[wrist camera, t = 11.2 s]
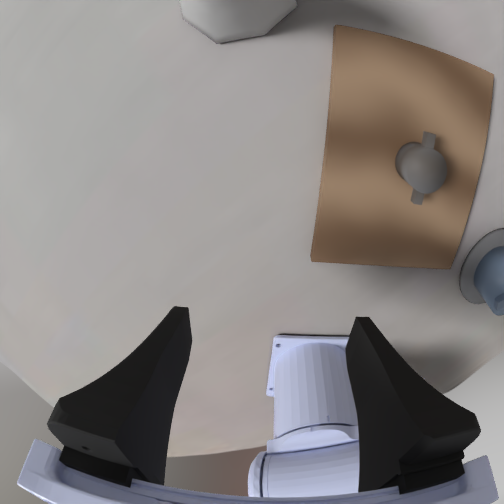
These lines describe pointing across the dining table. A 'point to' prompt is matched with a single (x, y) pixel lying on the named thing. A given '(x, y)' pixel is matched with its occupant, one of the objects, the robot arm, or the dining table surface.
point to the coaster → (474, 257)
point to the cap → (491, 279)
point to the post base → (372, 136)
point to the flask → (235, 17)
